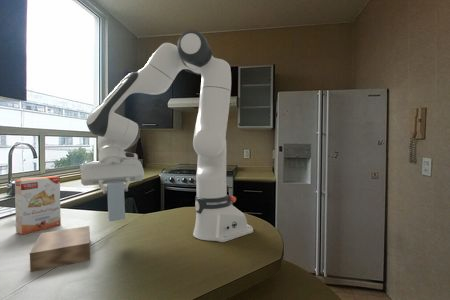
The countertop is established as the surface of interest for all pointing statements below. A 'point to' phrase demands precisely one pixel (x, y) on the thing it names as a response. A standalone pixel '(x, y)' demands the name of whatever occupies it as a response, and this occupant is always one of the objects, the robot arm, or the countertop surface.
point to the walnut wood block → (60, 248)
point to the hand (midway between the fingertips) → (115, 191)
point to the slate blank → (116, 201)
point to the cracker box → (37, 203)
